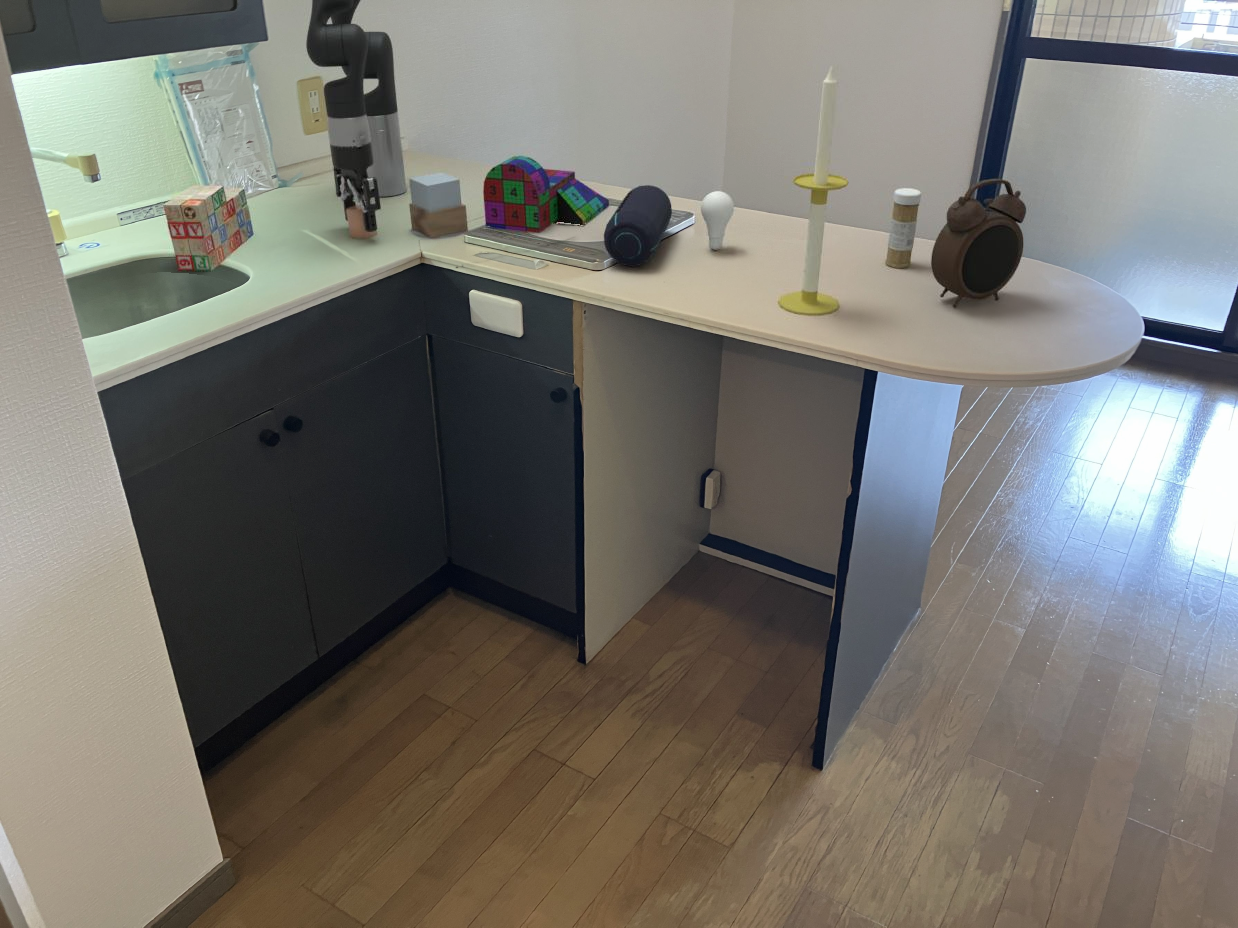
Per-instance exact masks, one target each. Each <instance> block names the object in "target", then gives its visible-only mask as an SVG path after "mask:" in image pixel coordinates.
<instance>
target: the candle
mask: <svg viewBox="0 0 1238 928" xmlns="http://www.w3.org/2000/svg"><path fill="white" fill-rule="evenodd" d="M837 90H838V81H837V79H836V77H835V72H834V67H833V65H831V67H830V68H829V70H828V72H827V75H826V77H825V79H824V80H823V81H822V89H821V97H820V98H821V99H820V100H821V101H820V110H819V119H818V120H819V122H818V130H817V131H818V133H817V140H816V141H817V143H816V153H815V163H814V164H815V165H814V172H813V173H805V174H799V175H796V176H794V178H792V182H793V184H794V185H795V186H797V187H799V188H801V189H802V188H803V189H806V190H811V192H810V202H809V215H808V226H807V236H806V246H805V256H804V257H805V258H804V269H803V277H802V291H794V292H788V293H786V294H784V295H782V296H780V298H779V299H778V301H777V302H778V305H779V307H780V308H782V309H783V310H785V311H787V312H790V313H793V314H797V315H802V316H803V315H804V316H822V315H823V316H824V315H830V314H832V313H834V312H836V311H838V310H839V308H840V303H839V301H838V299H837V298H836V297H833V296H831V295H829V294H825V293H822V292H818V291H819V282H820V281H819V280H820V271H821V263H822V262H821V261H822V251H823V244H824V243H823V242H824V232H825V221H826V211H827V203H828V192H829V191H836V190H841V189H843V188H846V187H847V186H848V184H849V180H848V179H847V178H846V177H843V176H840V175H836V174H829V170H830V160H831V152H832V151H831V150H832V141H833V132H834V131H833V130H834V121H835V112H836V111H835V110H836V101H837V92H838V91H837Z"/></svg>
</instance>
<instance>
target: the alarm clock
mask: <svg viewBox="0 0 1238 928" xmlns="http://www.w3.org/2000/svg"><path fill="white" fill-rule="evenodd" d="M993 184H1002V185H1004V187H1005V191H1006V193H1003V194H999V195H997V196H996V197H994V198H986V199H984V200H983V204H986V206H983V204H982V203H981V202H980V201H979V200H978V199H976V198H974V197H971V196H973V194H974V192H975V191H976V190H977V189H979V188H981V187H983V186H988V185H993ZM1020 196H1021V191H1020V190H1017V191H1015V192H1014V191H1013V187H1012V184H1011V183H1010V182H1009V181H1008V180H1006V179H1000V178H990V179H984V180H980V181H977V182H975V183H974V184H972V185H971V186H969V188H968V189H967V191H966V192H965V194H964V196H958V200H956V201H954V202H953V203H952V204H950V206H949V207H948V209H947V212H946V223H945V225H944V226H943V227H942V229H941V230H940V231H939V233H938V235H937V237H936V240H935V242H934V245H933V248H932V253H931V260H930V263H931V272H932V274H933V277H934V279H935V280H936V282H937V283H938V284H939V285H940V286H941V287H943V288H944V289H943V291H942V293H941V294H940V295H939V297H940V298H944V297H945V295H946V294H947V292H948V291H949V292H950V293H952V294H954V295H957V297H956V299H955V302H954V304H953V303H952V307H953V308H954V309H955V308H957V307H958V304H960V302H961V301H962V300H963V298H965V299H969V300H974V301H980V300H984V299H988V298H990V297H992V296H994V300H995V301H999V300H1000V297H999V295H998V292H999V291H1001V289H1003V288H1004V287H1005V286H1006V285H1007V284H1008V283H1009V282H1010V280H1011V279H1012V278H1013V276H1014V275H1015V273H1016V271H1017V270H1018V267H1019V265H1020V262H1021V259H1022V255H1023V252H1024V235H1023V231H1022V229H1021V227H1020V225H1019V224H1022V223H1023V222H1024V219H1025V218H1026V213H1027V206H1026V204H1025V202H1024V201H1023V200H1022V199H1020Z"/></svg>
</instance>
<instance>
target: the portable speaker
mask: <svg viewBox="0 0 1238 928" xmlns="http://www.w3.org/2000/svg"><path fill="white" fill-rule="evenodd" d="M672 214H673V210H672V202H671V200H670V197H669V196H668V194H667V193H666V192H665V191H664V190H663V189H661V188H659V187H657V186H655V185H648V184H646V185H638V186H637V187H634V188H632V189H631V190H629V191H628V192H627V194H626V195H625V196H624V197H623V198H622V201H621V202H620V204H619V205H618V207H617V208H616V209H615V211H614V212H613V214H612V216H611V218H610V219H609V220H608V222H607V223H606V226H605V229H604V233H603V243H604V246H605V250H606V251H607V253H608V255H609V257H611V258H612V259H613V260H614V261H616V262H617V263H619V264H622V265H623V266H628V267H635V266H640V265H643V264H645V263H646V262H647V261H649V260H650V259H651V258H652V256H653V255H655V253H656V251H657V249H658V248H659V245H660V243H661V241H662V239H663V237H664V235H665V233H666V231H667V229H668V227H669V225H670V221H671V220H672V219H671V218H672Z"/></svg>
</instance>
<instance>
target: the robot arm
mask: <svg viewBox="0 0 1238 928" xmlns="http://www.w3.org/2000/svg"><path fill="white" fill-rule="evenodd" d="M311 1H312V2H311V14H310V20H309V25H308V29H307V35H306V52H307V55H308V57H309V59H310V61H311V62H312V63H313V64H314V65H315V66H317V67H322V68H333V67H334V68H335V67H341V69H342V71H343V73H344V75H345V76H344V77H342V78H338V79H334V80H331V81H327V82H326V83H325V84H324V85H323V96H324V97H323V98H324V103H325V109H326V115H327V116H326V118H327V119H326V120H327V135H328V140H329V148H330V155H331V162H332V166H333V175H334V183H335V186H334V187H335V193H336V197H337V198H340V201H341V203H343V211H344V218H345V221H346V222H348V219H347V212H346V209H347V208H349V207H352V206H357V204H356V203H359V205H361V208H362V210H363V218H364V226H365V230H366V231H367V232H372V231H376V230H377V229H378V225H377V217H376V211H379V210H381V209H382V206H381V205H382V204H381V199H380V197H381V198H382V197H393V196H399V195H401V194H402V195H403V193H405V192H406V191H407V183H406V175H405V174H406V172H405V164H404V154H403V145H402V137H401V135H402V134H401V127H400V119H399V111H398V109H399V108H398V102H397V91H396V83H395V63H394V50H393V45H392V40H391V38H390V36H389V34H388V33H387V32H384V31H364V29H363V28H362V27H361V26H360V25H358V24H356V23H352V21H353V18H354V15H355V12H356V10H357V8H358V6H359V4H360V2H361V0H311ZM329 20H330V21H331V23H328V22H329ZM364 80H378V84H377V86H376V87H375V88H374V89H372V90H371V91H368V92H366V93H364Z"/></svg>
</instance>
